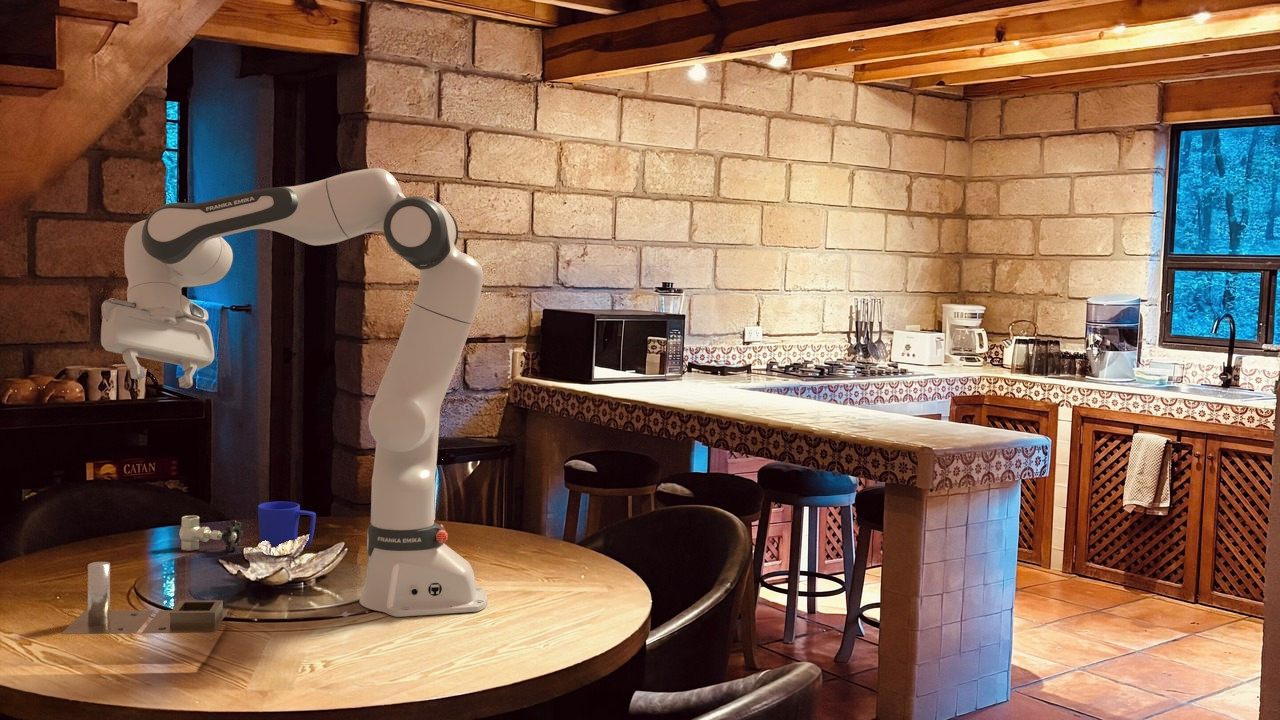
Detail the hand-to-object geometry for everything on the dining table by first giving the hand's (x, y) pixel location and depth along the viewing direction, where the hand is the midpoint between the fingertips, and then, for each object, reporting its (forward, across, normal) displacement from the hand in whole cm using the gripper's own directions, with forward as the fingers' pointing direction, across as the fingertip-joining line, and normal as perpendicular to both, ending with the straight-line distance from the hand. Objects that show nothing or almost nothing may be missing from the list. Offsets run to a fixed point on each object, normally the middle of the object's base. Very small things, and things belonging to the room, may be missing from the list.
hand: (162, 382), depth 199 cm
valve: (+17, +37, +38) cm, 55 cm away
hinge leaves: (+40, 0, +9) cm, 41 cm away
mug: (+22, +44, +24) cm, 55 cm away
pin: (+37, -5, +14) cm, 40 cm away
